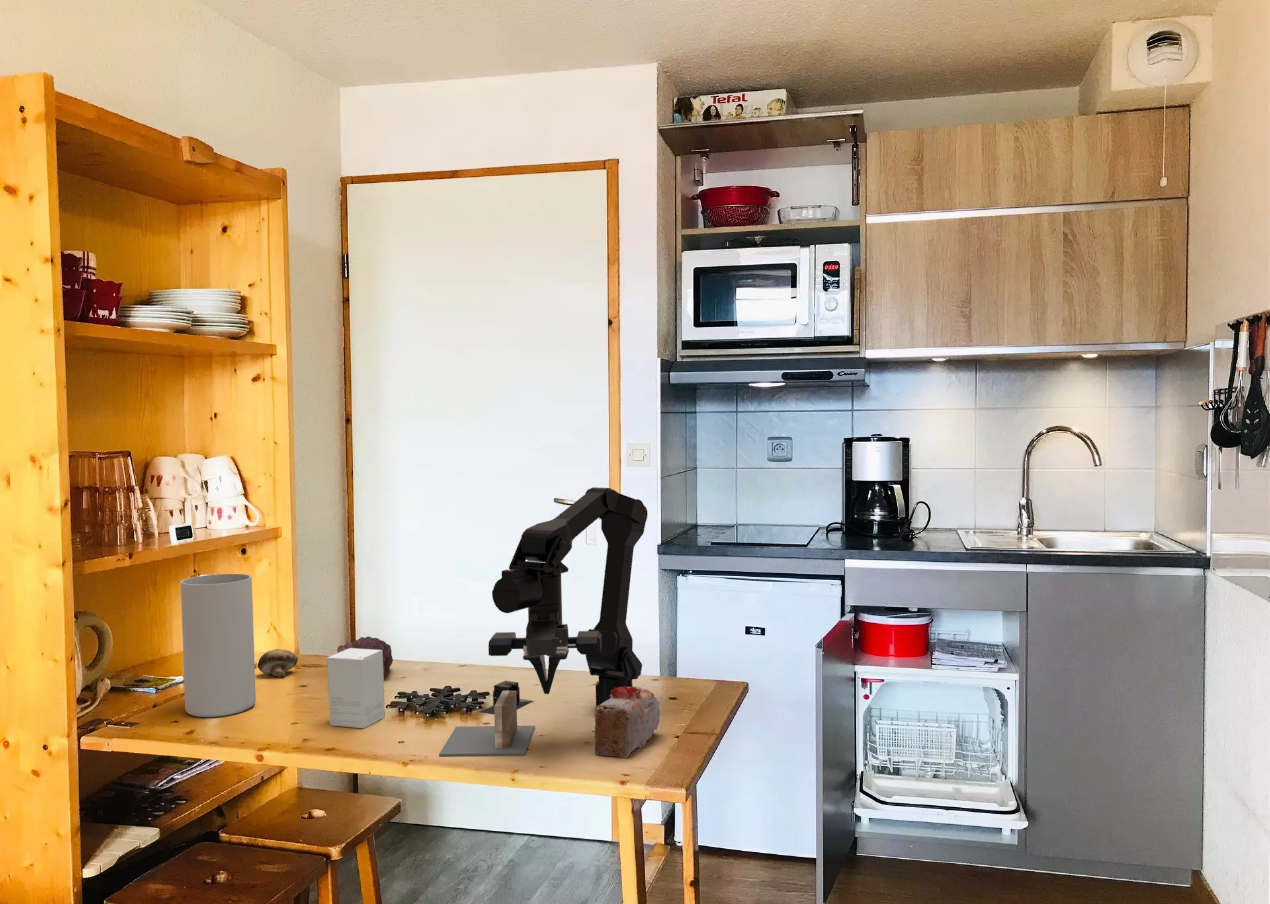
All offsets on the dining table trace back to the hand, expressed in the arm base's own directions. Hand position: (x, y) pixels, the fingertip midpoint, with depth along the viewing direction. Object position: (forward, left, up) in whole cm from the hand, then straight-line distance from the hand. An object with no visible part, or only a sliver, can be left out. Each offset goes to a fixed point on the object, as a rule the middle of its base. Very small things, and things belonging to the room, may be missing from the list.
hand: (547, 693), depth 168 cm
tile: (+7, 0, -8) cm, 10 cm away
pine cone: (+42, -40, -8) cm, 59 cm away
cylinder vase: (+65, -21, -8) cm, 69 cm away
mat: (+10, 0, -8) cm, 13 cm away
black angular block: (+10, -20, -9) cm, 24 cm away
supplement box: (+36, -12, -8) cm, 39 cm away
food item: (-14, +2, -8) cm, 16 cm away
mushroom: (+63, -45, -8) cm, 78 cm away
